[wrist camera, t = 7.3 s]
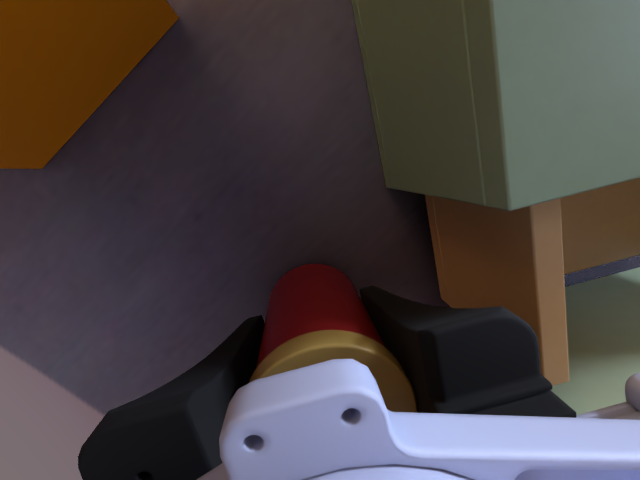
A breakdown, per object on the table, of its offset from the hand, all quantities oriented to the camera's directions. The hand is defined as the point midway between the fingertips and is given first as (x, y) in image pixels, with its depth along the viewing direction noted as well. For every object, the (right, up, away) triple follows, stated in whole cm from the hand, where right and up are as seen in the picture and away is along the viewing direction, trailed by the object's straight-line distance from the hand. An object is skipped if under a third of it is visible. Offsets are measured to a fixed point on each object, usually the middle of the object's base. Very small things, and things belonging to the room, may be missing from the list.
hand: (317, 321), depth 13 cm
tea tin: (0, 0, +2) cm, 2 cm away
